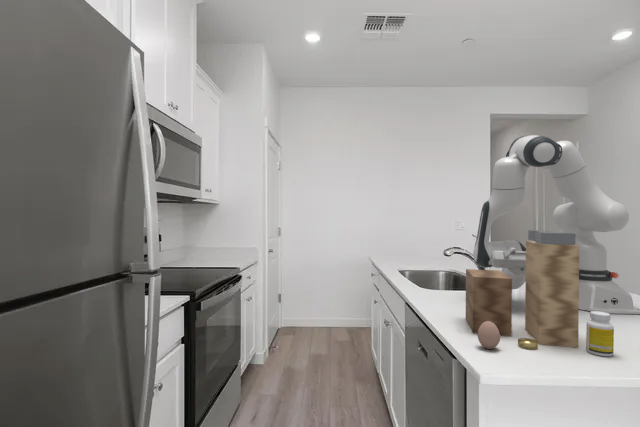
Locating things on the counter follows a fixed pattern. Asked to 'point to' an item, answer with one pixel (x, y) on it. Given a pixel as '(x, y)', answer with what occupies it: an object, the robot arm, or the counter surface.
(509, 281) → the walnut block
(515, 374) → the counter surface
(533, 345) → the brass disc
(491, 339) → the egg
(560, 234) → the hook bar
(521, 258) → the robot arm
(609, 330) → the supplement bottle
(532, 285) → the oak shelf block
